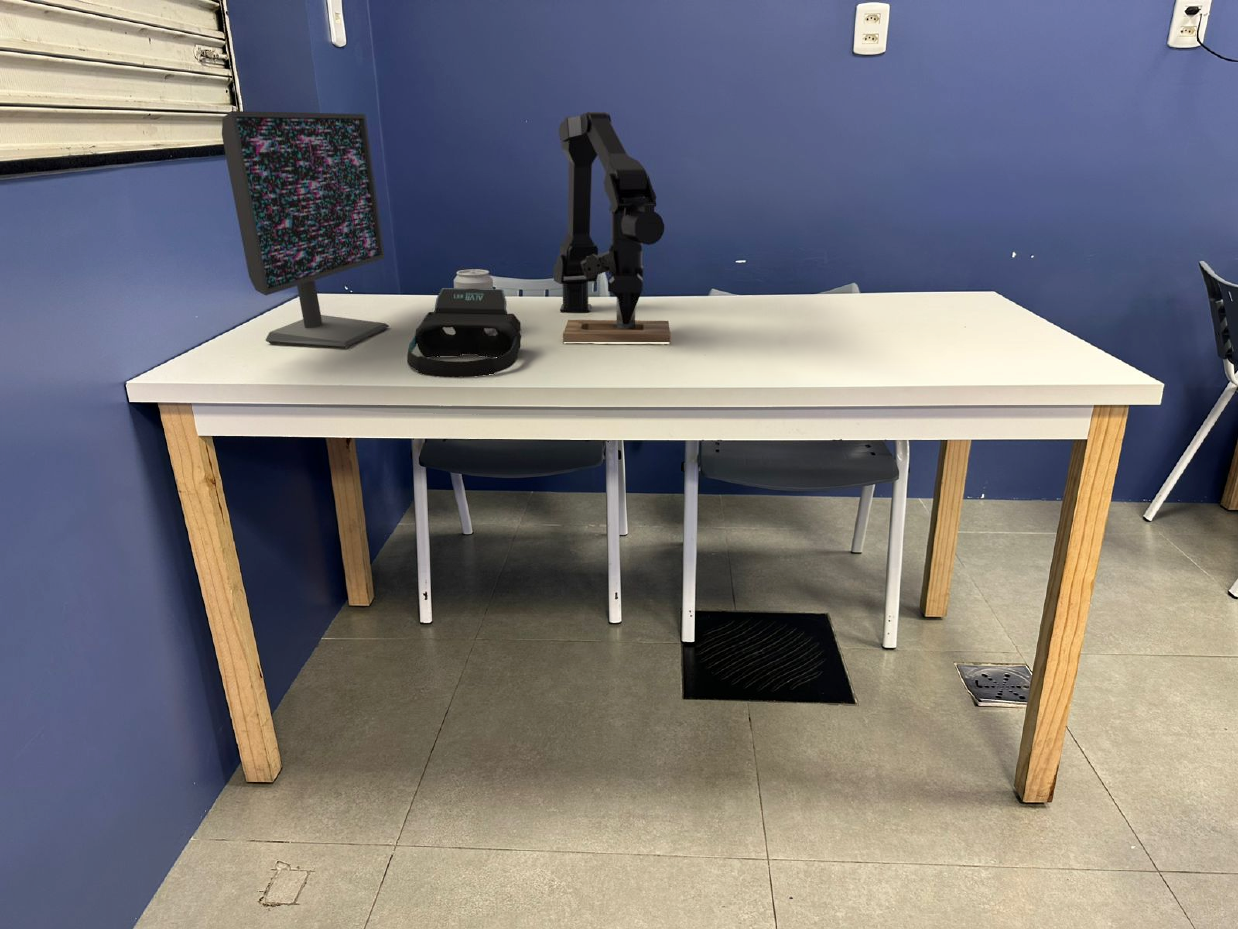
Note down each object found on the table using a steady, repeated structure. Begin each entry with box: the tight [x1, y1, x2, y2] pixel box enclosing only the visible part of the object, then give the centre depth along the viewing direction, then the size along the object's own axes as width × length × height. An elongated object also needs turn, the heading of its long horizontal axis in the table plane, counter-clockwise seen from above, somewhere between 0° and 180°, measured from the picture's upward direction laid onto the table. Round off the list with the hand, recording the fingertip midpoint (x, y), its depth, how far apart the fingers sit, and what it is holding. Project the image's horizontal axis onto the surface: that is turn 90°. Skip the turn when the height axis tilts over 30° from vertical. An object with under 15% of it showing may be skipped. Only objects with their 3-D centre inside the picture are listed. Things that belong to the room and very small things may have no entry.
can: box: [453, 268, 494, 335], centre depth 167 cm, size 8×8×12 cm
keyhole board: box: [562, 319, 671, 343], centre depth 166 cm, size 12×20×2 cm, turn 88°
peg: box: [616, 297, 636, 330], centre depth 164 cm, size 4×4×8 cm
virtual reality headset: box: [406, 287, 522, 378], centre depth 148 cm, size 19×22×10 cm
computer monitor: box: [221, 110, 390, 349], centre depth 158 cm, size 44×16×40 cm, turn 168°
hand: (626, 321), depth 165 cm, fingers closed on peg, 4 cm apart
